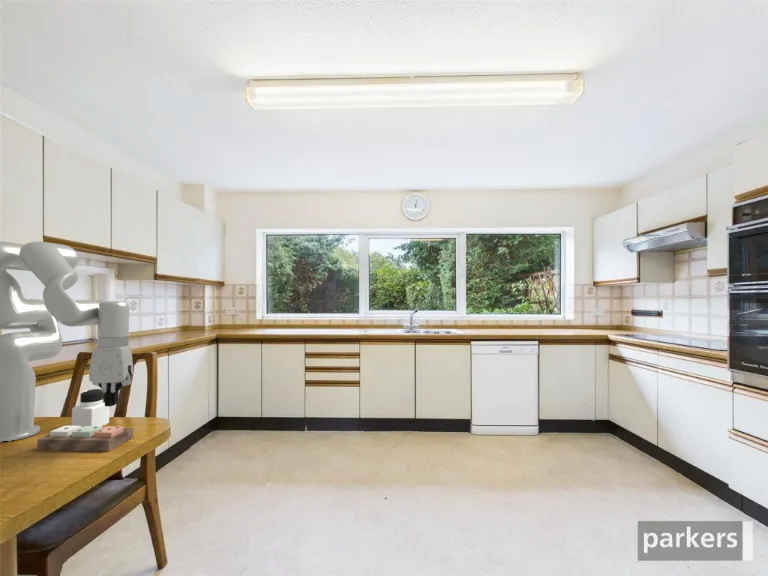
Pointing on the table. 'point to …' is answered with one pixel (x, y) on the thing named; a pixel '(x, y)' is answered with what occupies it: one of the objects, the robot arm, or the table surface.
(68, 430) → the button one cream
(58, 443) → the button board
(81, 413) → the medicine bottle
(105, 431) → the button three terracotta
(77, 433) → the button two sage
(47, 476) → the table surface
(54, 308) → the robot arm
